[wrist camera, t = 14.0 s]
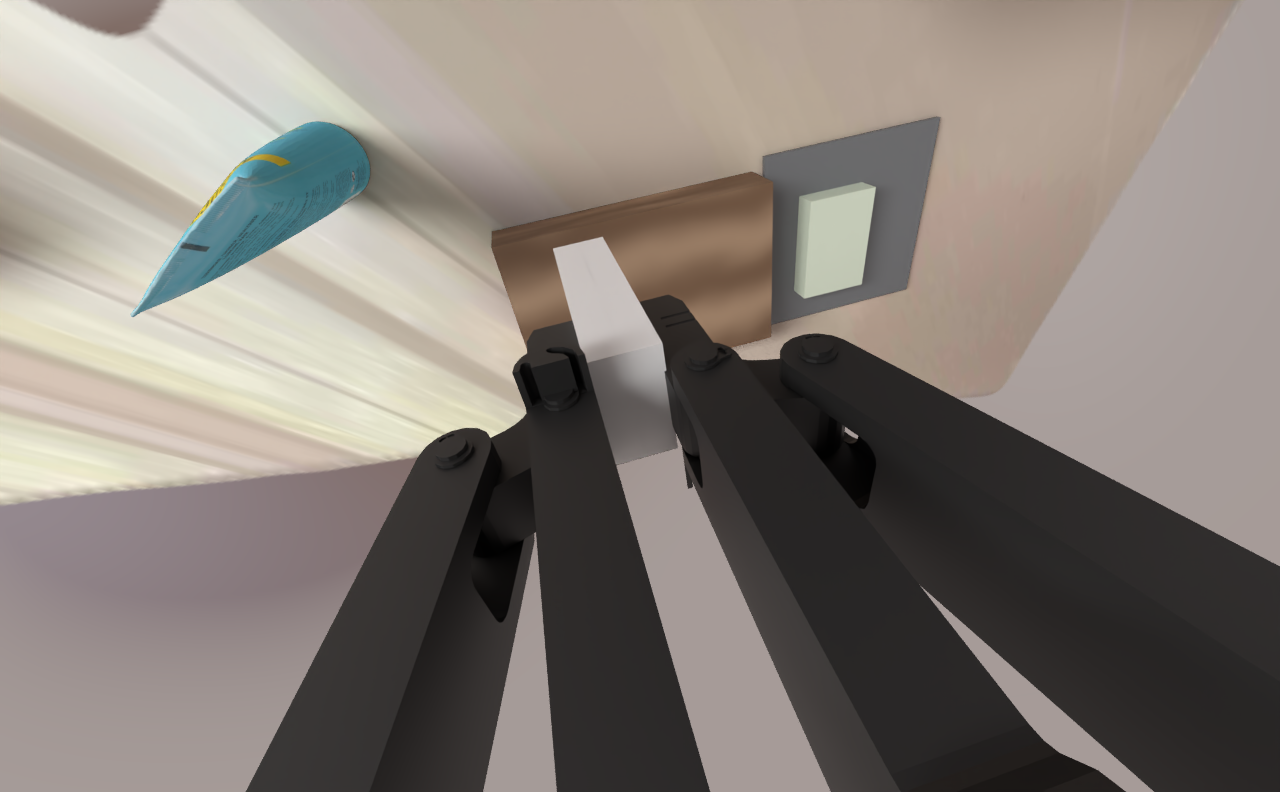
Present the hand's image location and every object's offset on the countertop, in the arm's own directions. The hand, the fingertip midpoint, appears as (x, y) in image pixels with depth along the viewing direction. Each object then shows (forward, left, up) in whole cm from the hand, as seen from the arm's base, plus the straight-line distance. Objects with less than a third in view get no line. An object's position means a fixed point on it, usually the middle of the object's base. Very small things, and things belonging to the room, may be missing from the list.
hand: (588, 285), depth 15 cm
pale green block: (+12, +24, -24) cm, 36 cm away
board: (+12, +6, -26) cm, 30 cm away
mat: (+12, +26, -26) cm, 39 cm away
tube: (-2, -14, -27) cm, 30 cm away
